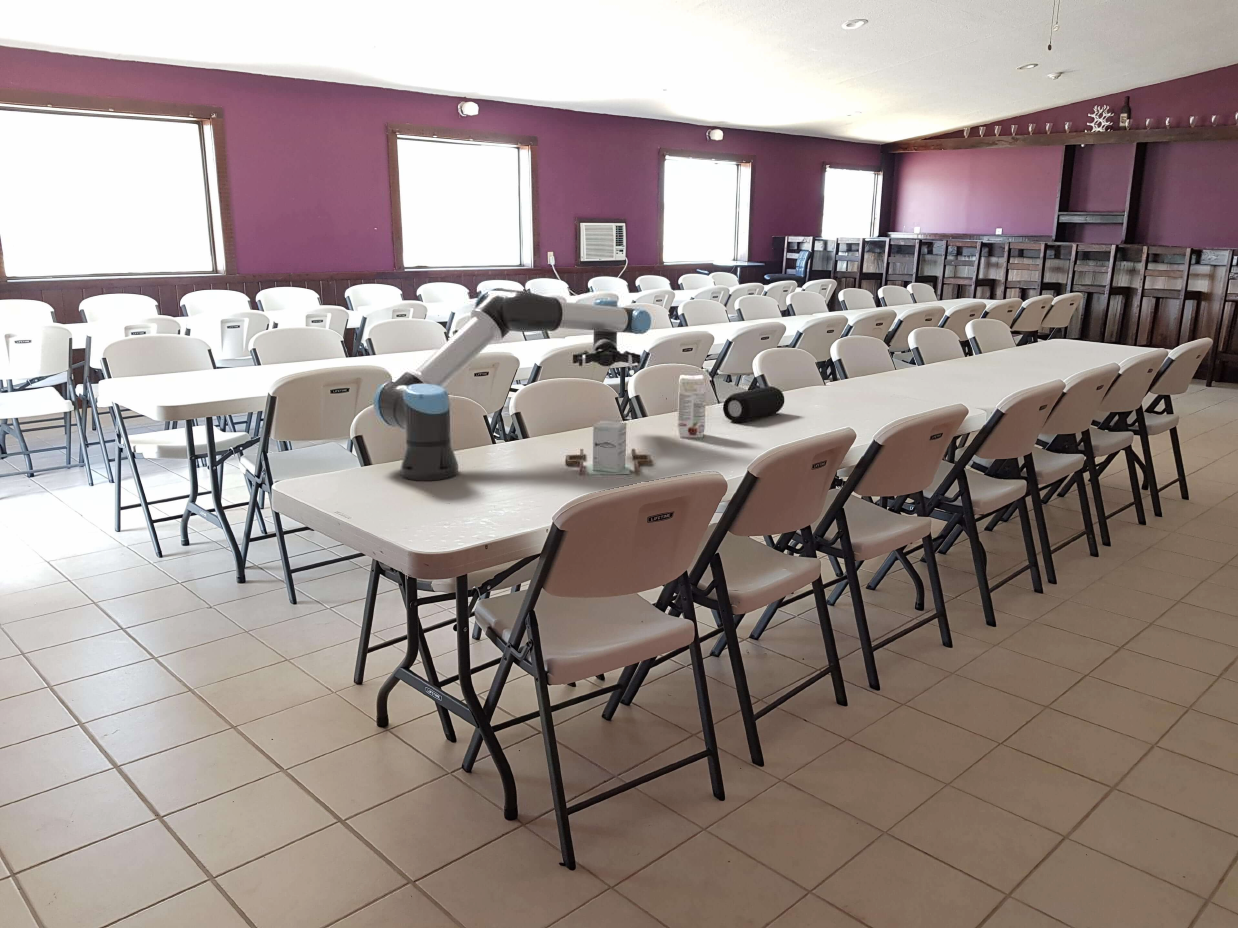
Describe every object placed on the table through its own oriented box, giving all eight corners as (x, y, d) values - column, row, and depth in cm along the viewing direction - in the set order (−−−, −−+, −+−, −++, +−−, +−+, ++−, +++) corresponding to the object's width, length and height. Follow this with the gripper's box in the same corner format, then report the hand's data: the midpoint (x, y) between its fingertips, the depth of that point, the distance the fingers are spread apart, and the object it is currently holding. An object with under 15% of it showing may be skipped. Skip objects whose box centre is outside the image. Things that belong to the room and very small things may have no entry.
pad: (588, 474, 253) (588, 473, 253) (588, 465, 263) (588, 464, 263) (630, 474, 254) (630, 473, 254) (628, 465, 263) (628, 464, 263)
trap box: (564, 475, 252) (564, 469, 252) (566, 453, 276) (566, 448, 275) (654, 475, 253) (654, 469, 253) (648, 453, 277) (648, 448, 276)
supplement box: (591, 470, 256) (591, 425, 253) (601, 464, 263) (601, 419, 260) (617, 473, 254) (617, 427, 250) (626, 466, 260) (627, 421, 257)
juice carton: (705, 438, 297) (706, 378, 292) (677, 438, 297) (679, 378, 292) (703, 433, 304) (705, 374, 299) (676, 432, 304) (678, 374, 299)
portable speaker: (762, 411, 341) (763, 383, 338) (786, 415, 334) (787, 387, 332) (720, 421, 322) (721, 392, 320) (744, 425, 316) (745, 396, 313)
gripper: (645, 365, 296) (650, 375, 276) (565, 364, 295) (564, 375, 275) (645, 341, 294) (650, 350, 274) (565, 340, 293) (564, 349, 273)
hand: (607, 362), depth 274 cm, fingers open, 13 cm apart
